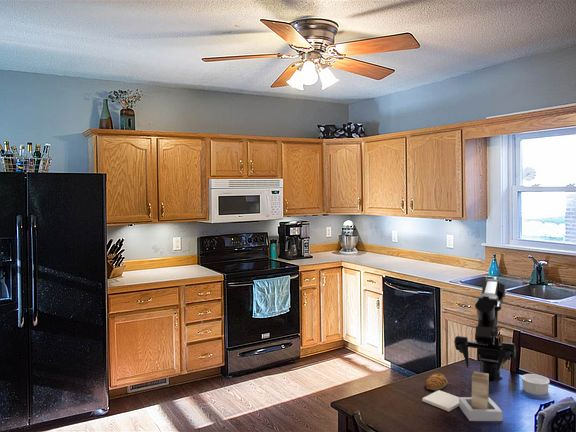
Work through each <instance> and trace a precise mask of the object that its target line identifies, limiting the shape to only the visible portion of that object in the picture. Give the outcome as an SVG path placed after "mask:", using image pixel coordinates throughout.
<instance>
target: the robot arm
mask: <svg viewBox="0 0 576 432" xmlns="http://www.w3.org/2000/svg"><path fill="white" fill-rule="evenodd" d="M504 298H506V285H505V284H503V283H501V281H500V280H498V279H493V278H491V279H490V278H488V279H485V282H484V283H482V288H481V294H480V295H479V297H478V298H476V301H475V304H474V307H475V310H476V316H477V326H475V332H474V333H475V335H474V341H469V339H468V336H461V335H457V336H454V341H453V342H454V347H455V350H456V351H459V353H460V354H462V355H463V358H464V361H465V366H466V369H469V367H470V364H469V363H470V361H469V359H470V358H469V357H470V356H469V348H472V349H476V361H477V362H480V363H479V365H480V371H479V372H481V373H487V374H489V382H493V381H498V380H502V379H503V377H502V376H501V374H500V373H501V369H502V367H503V366H504V365H505V363H507V361H511V359H516V345H515V343H514V342H507V341H502V342H500V340H499V338H498V337H499V326H498V322H499V320H498V319H499V317H498V315H499V312H500V311H501V310H502V308H503V306H502V305H503V304H504ZM500 343H501V345H500Z"/></svg>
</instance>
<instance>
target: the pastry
mask: <svg viewBox="0 0 576 432" xmlns="http://www.w3.org/2000/svg"><path fill="white" fill-rule="evenodd" d="M448 384H449V381H448V380H447V378H446V377H445V375H444V374H443V373H433V374H431V375H430V376H428V378H426V382H425V388H426V390H431V391H434V392H436V391H438V390H443V389H444V388H445V387H447V386H448Z"/></svg>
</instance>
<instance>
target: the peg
mask: <svg viewBox="0 0 576 432" xmlns="http://www.w3.org/2000/svg"><path fill="white" fill-rule="evenodd" d="M489 382H490V381H489V374H487V373H481V372H480V371H473V373H472V374H471V397H472V409H488V397H489Z"/></svg>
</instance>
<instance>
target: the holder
mask: <svg viewBox="0 0 576 432" xmlns="http://www.w3.org/2000/svg"><path fill="white" fill-rule="evenodd" d="M458 397H459V406H458V407H459V409H460V410H461V411H462V412H463V414H464V415H465V416H466V418H467V419H468V420H469V421H470V422H503V421H504V420H503V418H504V411H503V410H502V409H501V408H500V407H499V406H498V405H497V404H496V402H495V401H494V400H492V398H490V397H489V396H488V409H472V396H470V397H469V396H467V397H466V396H462V397H461V396H458Z"/></svg>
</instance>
